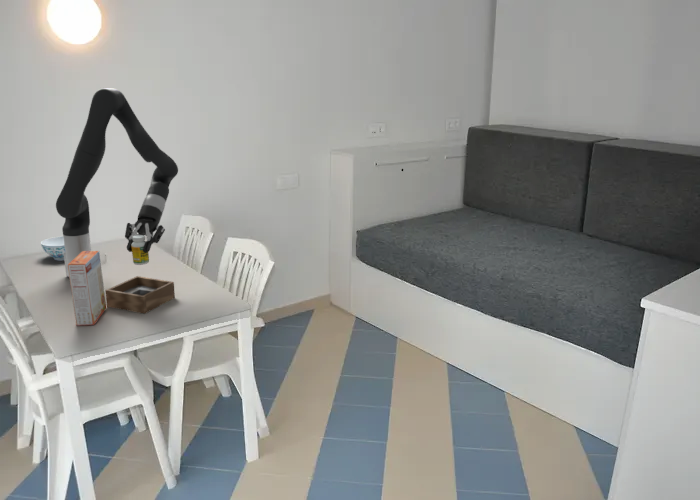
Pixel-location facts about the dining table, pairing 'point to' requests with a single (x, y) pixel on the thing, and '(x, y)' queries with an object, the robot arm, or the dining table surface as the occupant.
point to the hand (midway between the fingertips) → (137, 251)
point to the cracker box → (87, 287)
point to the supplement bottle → (139, 250)
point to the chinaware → (54, 247)
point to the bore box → (140, 294)
